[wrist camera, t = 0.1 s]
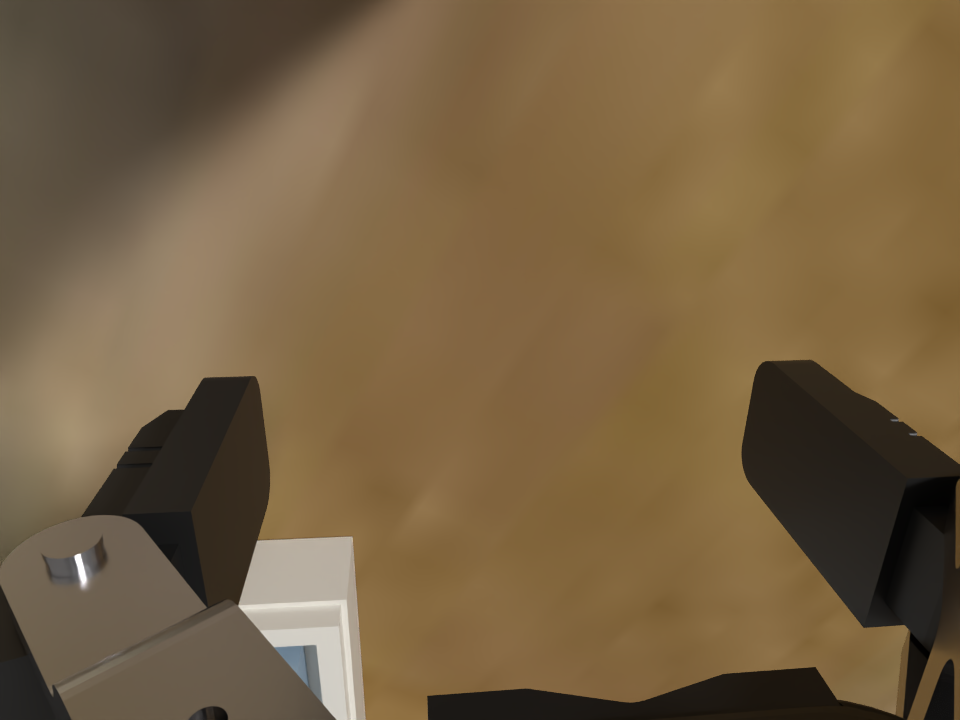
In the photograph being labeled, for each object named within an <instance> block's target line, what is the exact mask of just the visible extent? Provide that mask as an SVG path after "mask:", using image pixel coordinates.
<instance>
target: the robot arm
mask: <svg viewBox="0 0 960 720" xmlns="http://www.w3.org/2000/svg"><path fill="white" fill-rule="evenodd" d="M742 464H743V469H744V472H745V475H746V478H747V480H748V482H749V483H750V485H751V486H752V487H753V489H754V490H755V491H756V492H757V494H758V495H759V496H760V497H761V499H762V500H763V501H764V502H765V504H766V505H767V506H768V508H769V509H770V510H771V511H772V513H773V514H774V515H775V516H776V518H777V519H778V520H779V521H780V523H781V524H782V525H783V526H784V528H785V529H786V530H787V531H788V533H789V534H790V535H791V537H792V538H793V539H794V540H795V542H796V543H797V544H798V545H799V547H800V548H801V549H802V550H803V552H804V553H805V554H806V555H807V557H808V558H809V559H810V560H811V562H812V563H813V564H814V566H815V567H816V568H817V569H818V571H819V572H820V573H821V574H822V576H823V577H824V578H825V579H826V581H827V582H828V583H829V584H830V586H831V587H832V588H833V590H834V591H835V592H836V593H837V595H838V596H839V597H840V598H841V600H842V601H843V602H844V603H845V605H846V606H847V607H848V608H849V610H850V611H851V612H852V613H853V615H854V616H855V617H856V619H857V620H858V621H859V622H860V624H861V625H862V626H863V627H864V628H867V627H881V626H896V625H905V626H906V627H907V628H908V629H909V630H908V633H907V637H906V640H905V643H904V646H903V649H902V653H901V663H900V674H899V684H898V694H897V705H896V715H894V714H891V713H888V712H885V711H882V710H879V709H876V708H873V707H869V706H865V705H861V704H856V703H852V702H848V701H843V700H837V699H836V697H835V696H834V694H833V693H832V691H831V690H830V688H829V687H828V685H827V684H826V682H825V681H824V679H823V678H822V676H821V675H820V673H819V672H818V670H817V669H816V667H811V668H798V669H784V670H771V671H757V672H744V673H730V674H722V675H719V676H716V677H713V678H710V679H707V680H704V681H701V682H698V683H695V684H692V685H689V686H686V687H683V688H680V689H677V690H674V691H672V692H669V693H666V694H663V695H660V696H657V697H654V698H651V699H648V700H645V701H641V702H634V703H627V702H618V701H611V700H604V699H597V698H589V697H582V696H575V695H568V694H561V693H554V692H547V691H540V690H533V689H515V690H501V691H488V692H474V693H461V694H448V695H434V696H427V697H428V720H960V464H958V463H957V462H956V461H954V460H953V459H952V458H950V457H949V456H948V455H946V454H945V453H944V452H942V451H941V450H940V449H938V448H937V447H936V446H934V445H933V444H932V443H930V442H929V441H928V440H926V439H925V438H924V437H922V436H917V432H916V431H914V430H913V429H912V428H910V427H909V426H908V425H906V424H905V423H904V422H899V421H898V418H897V417H896V416H894V415H893V414H892V413H890V412H889V411H888V410H886V409H885V408H884V407H882V406H881V405H880V404H879V403H877V402H876V401H873V400H871V399H869V398H867V397H865V396H862V395H860V394H858V393H856V392H854V391H852V390H851V389H850V388H849V387H847V386H846V385H845V384H843V383H842V382H841V381H839V380H838V379H837V378H836V377H834V376H833V375H832V374H830V373H829V372H828V371H826V370H825V369H824V368H822V367H821V366H820V365H819V364H817V363H816V362H814V361H812V360H791V361H765V362H763V363H762V364H761V365H760V366H759V367H758V369H757V371H756V374H755V378H754V383H753V388H752V394H751V399H750V405H749V410H748V416H747V421H746V427H745V432H744V438H743V443H742ZM269 490H270V469H269V459H268V451H267V443H266V435H265V427H264V419H263V411H262V403H261V395H260V389H259V384H258V381H257V379H256V377H255V376H244V377H212V378H204V379H203V380H202V381H201V383H200V384H199V386H198V388H197V389H196V391H195V393H194V394H193V396H192V398H191V400H190V401H189V403H188V405H187V406H186V408H185V410H167V411H166V412H164V413H163V414H161V415H160V416H159V417H157V418H156V419H154V420H153V421H151V422H150V423H148V424H147V425H145V426H144V427H142V428H141V430H140V431H139V433H138V434H137V435H136V437H135V438H134V440H133V441H132V443H131V444H130V446H129V447H128V452H125V453H124V455H123V456H122V458H121V459H120V461H119V462H118V464H117V469H113V471H112V472H111V474H110V475H109V477H108V478H107V480H106V481H105V483H104V484H103V486H102V487H101V489H100V490H99V492H98V493H97V495H96V496H95V497H94V499H93V500H92V502H91V503H90V505H89V506H88V508H87V509H86V511H85V512H84V514H83V515H82V517H81V518H76V519H72V520H68V521H65V522H62V523H59V524H56V525H54V526H51V527H49V528H47V529H44V530H42V531H40V532H38V533H36V534H35V535H33V536H31V537H30V538H28V539H27V540H25V541H23V542H22V543H21V544H20V545H18V546H17V547H16V548H15V549H14V550H13V551H12V552H11V553H10V554H9V555H8V556H7V557H6V559H5V560H4V562H3V563H2V565H1V568H0V720H336V719H335V717H334V716H333V715H332V714H331V713H330V712H329V711H328V709H327V708H326V707H325V706H324V705H323V704H322V702H321V701H320V700H319V699H318V698H317V697H316V695H315V694H314V693H313V692H312V691H311V690H310V689H309V687H308V686H307V685H306V684H305V683H304V682H303V680H302V679H301V678H300V677H299V676H298V675H297V673H296V672H295V671H294V670H293V669H292V668H291V667H290V665H289V664H288V663H287V662H286V661H285V660H284V658H283V657H282V656H281V655H280V654H279V653H278V651H277V650H276V649H275V648H274V647H273V646H272V645H271V643H270V642H269V641H268V640H267V639H266V638H265V636H264V635H263V634H262V633H261V632H260V631H259V629H258V628H257V627H256V626H255V625H254V624H253V623H252V621H251V620H250V619H249V618H248V617H247V616H246V614H245V613H244V612H243V611H242V610H241V609H240V608H239V607H238V605H239V601H240V598H241V595H242V591H243V588H244V584H245V581H246V577H247V574H248V570H249V567H250V564H251V560H252V557H253V553H254V550H255V546H256V543H257V540H258V536H259V533H260V529H261V526H262V522H263V519H264V515H265V512H266V509H267V505H268V500H269Z"/></svg>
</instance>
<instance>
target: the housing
mask: <svg viewBox="0 0 960 720" xmlns="http://www.w3.org/2000/svg"><path fill="white" fill-rule="evenodd" d="M238 607H239V608H240V609H241V610H242V611H243V612H244V613H245V614H246V616H247V617H248V618H249V619H250V620H251V621H252V623H253V624H254V625H255V626H256V627H257V628H258V629H259V631H260V632H261V633H262V634H263V635H264V636H265V638H266V639H267V640H268V641H269V642H270V643H271V645H272V646H273V647H287V646H304V648H305V656H306V664H307V672H308V680H309V688H310V690H311V691H312V692H313V693H314V694H315V695H316V697H317V698H318V699H319V700H320V701H321V702H322V704H323V705H324V706H325V707H326V708H327V709H328V711H329V712H330V713H331V714H332V715H333V716H334V717H335V719H336V720H366V718H365V704H364V690H363V676H362V662H361V648H360V634H359V621H358V607H357V593H356V579H355V565H354V551H353V537H329V538H306V539H283V540H261V541H257V543H256V546H255V550H254V553H253V557H252V560H251V564H250V567H249V570H248V574H247V577H246V581H245V584H244V588H243V591H242V595H241V598H240V601H239V605H238Z"/></svg>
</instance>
